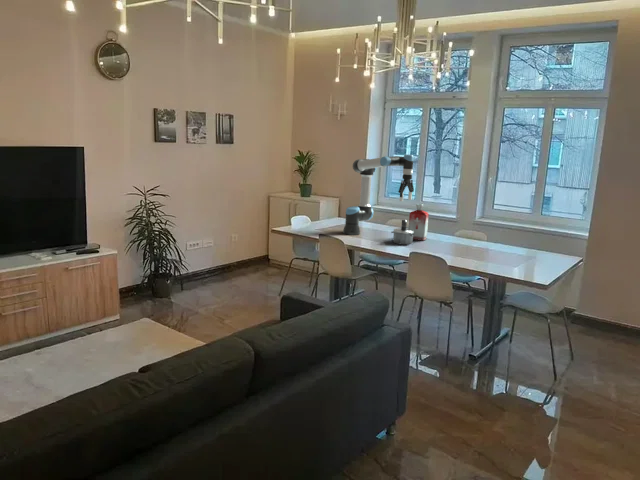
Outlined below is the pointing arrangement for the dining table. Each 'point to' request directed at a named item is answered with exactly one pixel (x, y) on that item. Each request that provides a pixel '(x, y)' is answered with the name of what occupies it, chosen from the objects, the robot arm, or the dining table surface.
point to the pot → (403, 238)
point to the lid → (403, 228)
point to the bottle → (419, 223)
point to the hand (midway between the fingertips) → (405, 200)
